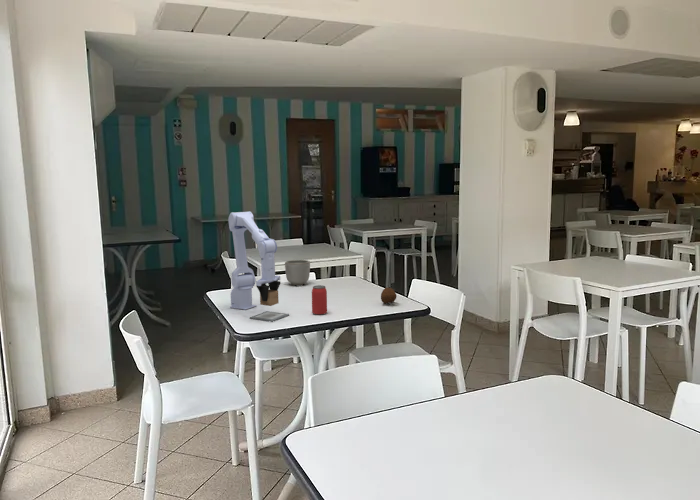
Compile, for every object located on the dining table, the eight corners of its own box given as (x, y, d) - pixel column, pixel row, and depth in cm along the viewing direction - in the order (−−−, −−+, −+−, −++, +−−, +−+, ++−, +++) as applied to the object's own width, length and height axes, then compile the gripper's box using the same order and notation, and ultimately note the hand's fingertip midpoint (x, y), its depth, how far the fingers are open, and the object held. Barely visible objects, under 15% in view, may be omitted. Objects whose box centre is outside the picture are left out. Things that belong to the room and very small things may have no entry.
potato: (393, 301, 263) (393, 285, 262) (398, 306, 253) (398, 289, 252) (378, 302, 262) (378, 285, 261) (382, 306, 252) (382, 290, 251)
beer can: (325, 315, 238) (324, 288, 236) (310, 314, 239) (309, 287, 238) (328, 311, 244) (328, 285, 243) (314, 311, 246) (313, 284, 244)
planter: (309, 287, 298) (308, 263, 296) (283, 287, 298) (283, 263, 297) (311, 282, 312) (311, 259, 310) (287, 282, 312) (286, 259, 310)
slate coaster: (249, 318, 234) (249, 317, 234) (266, 312, 244) (266, 310, 244) (272, 322, 228) (272, 320, 228) (289, 315, 239) (289, 313, 238)
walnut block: (260, 304, 234) (259, 292, 234) (268, 301, 239) (268, 289, 238) (270, 306, 232) (270, 293, 231) (278, 303, 236) (278, 290, 235)
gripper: (265, 271, 225) (266, 304, 227) (285, 266, 238) (286, 297, 240) (251, 270, 228) (252, 302, 230) (272, 265, 241) (273, 295, 243)
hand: (269, 299), depth 235 cm, fingers closed on walnut block, 6 cm apart
